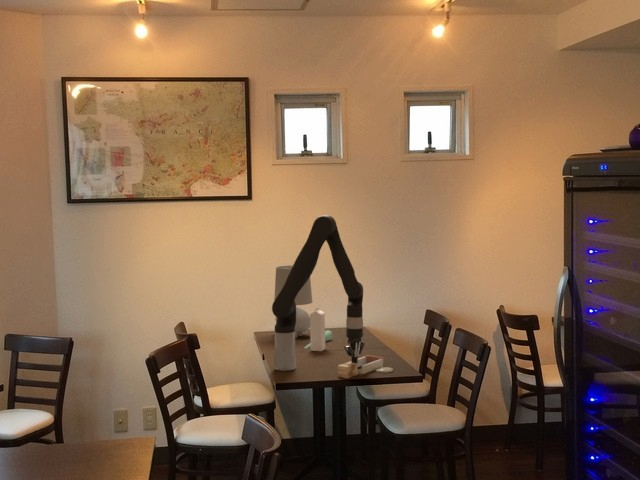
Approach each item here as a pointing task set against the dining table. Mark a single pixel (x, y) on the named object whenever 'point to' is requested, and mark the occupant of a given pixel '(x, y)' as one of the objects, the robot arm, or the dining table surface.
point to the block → (347, 370)
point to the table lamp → (301, 298)
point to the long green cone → (327, 337)
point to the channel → (370, 363)
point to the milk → (317, 330)
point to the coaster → (384, 369)
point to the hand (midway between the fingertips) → (354, 364)
